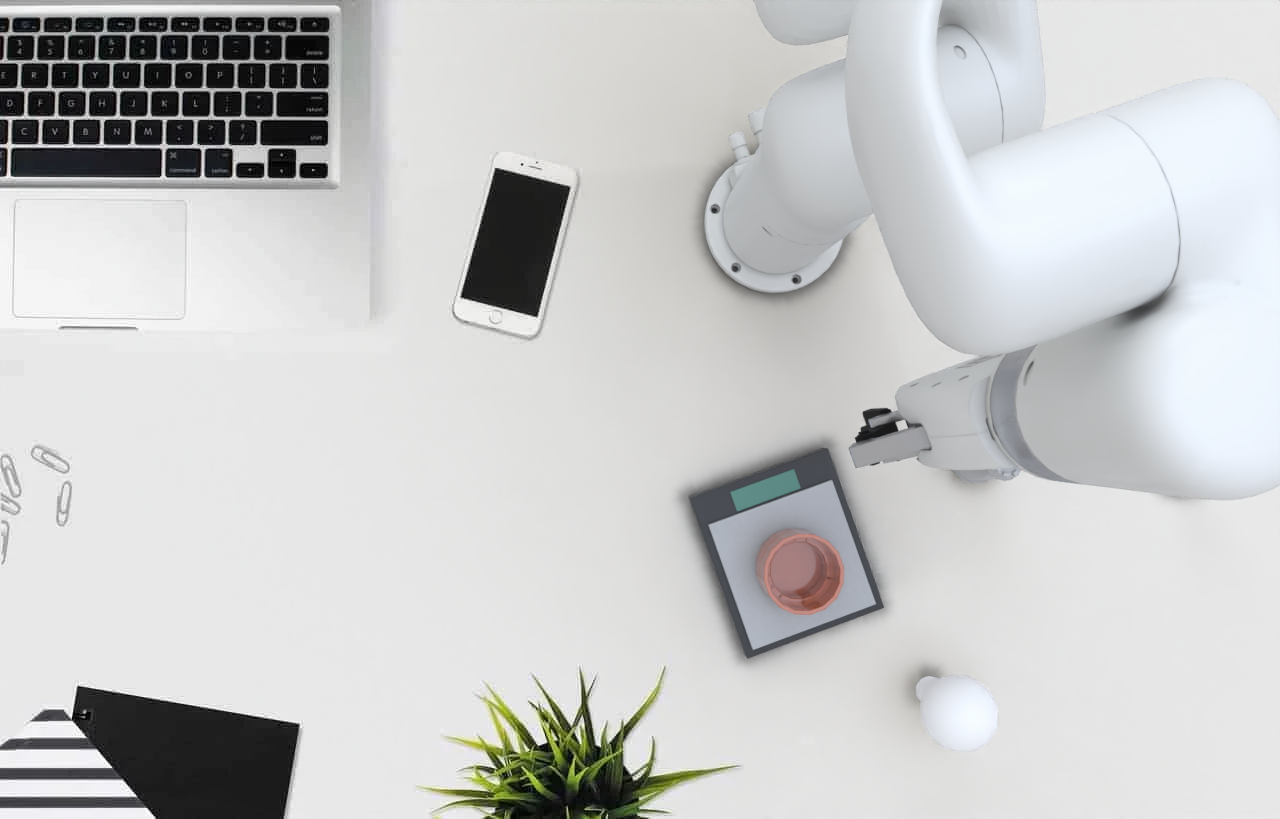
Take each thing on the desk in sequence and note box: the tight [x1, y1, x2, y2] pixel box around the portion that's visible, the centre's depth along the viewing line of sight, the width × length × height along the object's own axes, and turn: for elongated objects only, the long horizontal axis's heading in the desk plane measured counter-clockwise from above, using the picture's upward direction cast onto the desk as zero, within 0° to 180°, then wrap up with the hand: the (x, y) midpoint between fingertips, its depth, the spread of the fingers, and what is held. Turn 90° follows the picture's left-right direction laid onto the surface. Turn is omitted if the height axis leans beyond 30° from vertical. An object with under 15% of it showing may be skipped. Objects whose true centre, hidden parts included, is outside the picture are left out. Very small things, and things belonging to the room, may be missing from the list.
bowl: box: [756, 528, 844, 615], centre depth 85 cm, size 7×7×5 cm
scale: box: [688, 447, 885, 659], centre depth 88 cm, size 15×13×2 cm
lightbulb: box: [915, 674, 1000, 753], centre depth 85 cm, size 6×6×11 cm
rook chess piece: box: [953, 467, 1023, 484], centre depth 87 cm, size 4×4×8 cm
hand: (944, 407), depth 64 cm, fingers open, 9 cm apart
